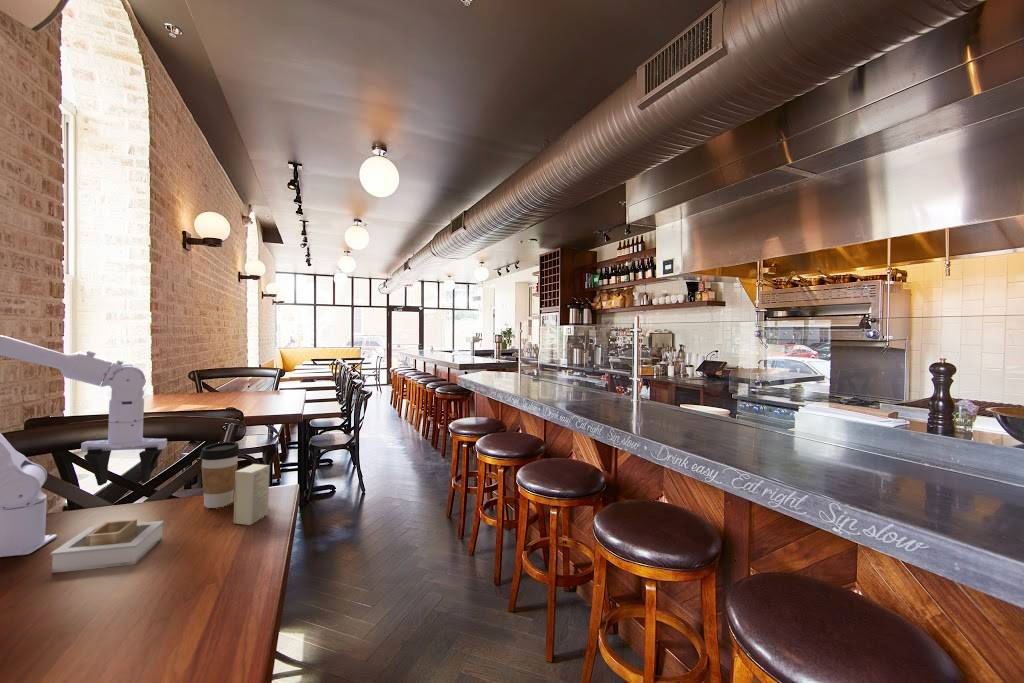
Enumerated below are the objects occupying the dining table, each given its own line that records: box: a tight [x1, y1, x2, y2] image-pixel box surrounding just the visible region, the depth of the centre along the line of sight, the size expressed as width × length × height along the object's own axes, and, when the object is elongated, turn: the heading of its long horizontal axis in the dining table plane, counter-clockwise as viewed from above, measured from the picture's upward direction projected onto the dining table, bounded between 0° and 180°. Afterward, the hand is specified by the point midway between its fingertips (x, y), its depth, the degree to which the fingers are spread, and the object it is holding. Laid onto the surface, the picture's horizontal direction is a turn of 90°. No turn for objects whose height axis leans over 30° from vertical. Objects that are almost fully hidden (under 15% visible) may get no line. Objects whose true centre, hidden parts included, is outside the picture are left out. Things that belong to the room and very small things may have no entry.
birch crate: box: [86, 518, 138, 546], centre depth 85 cm, size 5×6×4 cm
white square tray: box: [50, 520, 165, 574], centre depth 84 cm, size 12×11×4 cm
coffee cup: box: [199, 441, 241, 509], centre depth 111 cm, size 8×8×15 cm
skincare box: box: [232, 463, 271, 526], centre depth 102 cm, size 6×4×12 cm
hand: (124, 482), depth 95 cm, fingers open, 7 cm apart
